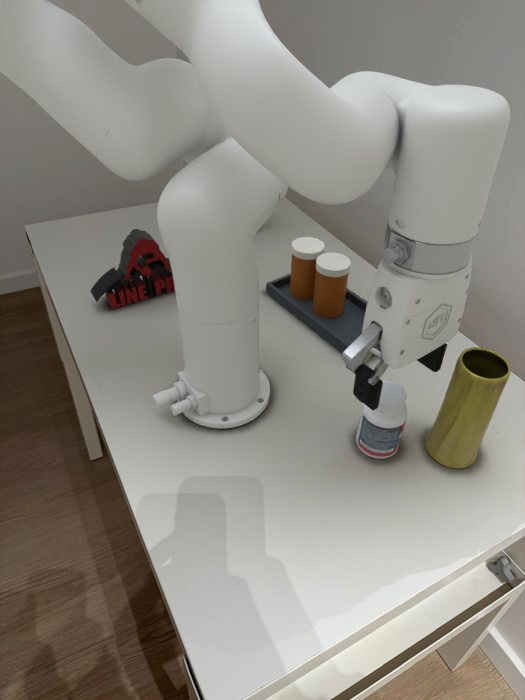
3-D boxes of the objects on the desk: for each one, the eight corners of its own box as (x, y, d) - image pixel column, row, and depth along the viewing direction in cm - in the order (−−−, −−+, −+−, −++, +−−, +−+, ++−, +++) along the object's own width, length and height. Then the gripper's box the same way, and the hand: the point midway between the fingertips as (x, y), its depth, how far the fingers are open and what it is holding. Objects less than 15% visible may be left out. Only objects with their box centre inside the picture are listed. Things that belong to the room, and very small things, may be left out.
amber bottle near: (326, 322, 81) (332, 274, 75) (305, 306, 84) (309, 258, 78) (350, 311, 83) (358, 263, 77) (329, 296, 87) (334, 249, 81)
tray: (356, 364, 74) (358, 354, 73) (266, 292, 88) (266, 283, 87) (404, 338, 79) (407, 328, 78) (311, 274, 93) (312, 264, 91)
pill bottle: (401, 460, 62) (417, 410, 56) (358, 459, 62) (369, 409, 56) (394, 426, 66) (408, 376, 60) (353, 425, 66) (363, 375, 60)
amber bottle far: (302, 304, 85) (305, 256, 79) (283, 289, 88) (285, 242, 82) (326, 294, 87) (331, 246, 81) (306, 280, 90) (310, 233, 84)
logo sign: (99, 313, 83) (84, 252, 76) (93, 302, 85) (78, 242, 78) (201, 283, 90) (196, 225, 83) (192, 274, 92) (187, 216, 85)
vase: (438, 422, 66) (468, 336, 57) (484, 446, 63) (524, 360, 54) (416, 451, 63) (445, 365, 53) (464, 478, 60) (503, 392, 51)
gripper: (391, 296, 39) (364, 440, 50) (523, 231, 47) (475, 369, 58) (326, 255, 44) (314, 396, 55) (456, 203, 52) (423, 336, 63)
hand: (397, 382), depth 57 cm, fingers open, 9 cm apart
